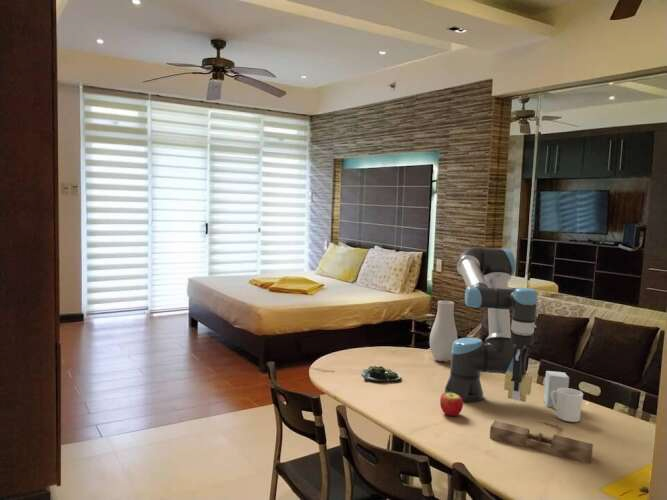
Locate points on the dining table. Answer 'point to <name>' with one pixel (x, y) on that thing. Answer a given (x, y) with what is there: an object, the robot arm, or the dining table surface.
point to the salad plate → (380, 375)
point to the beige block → (525, 385)
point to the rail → (542, 442)
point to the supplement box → (554, 385)
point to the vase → (443, 332)
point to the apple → (451, 403)
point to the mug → (568, 404)
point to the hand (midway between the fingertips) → (516, 397)
